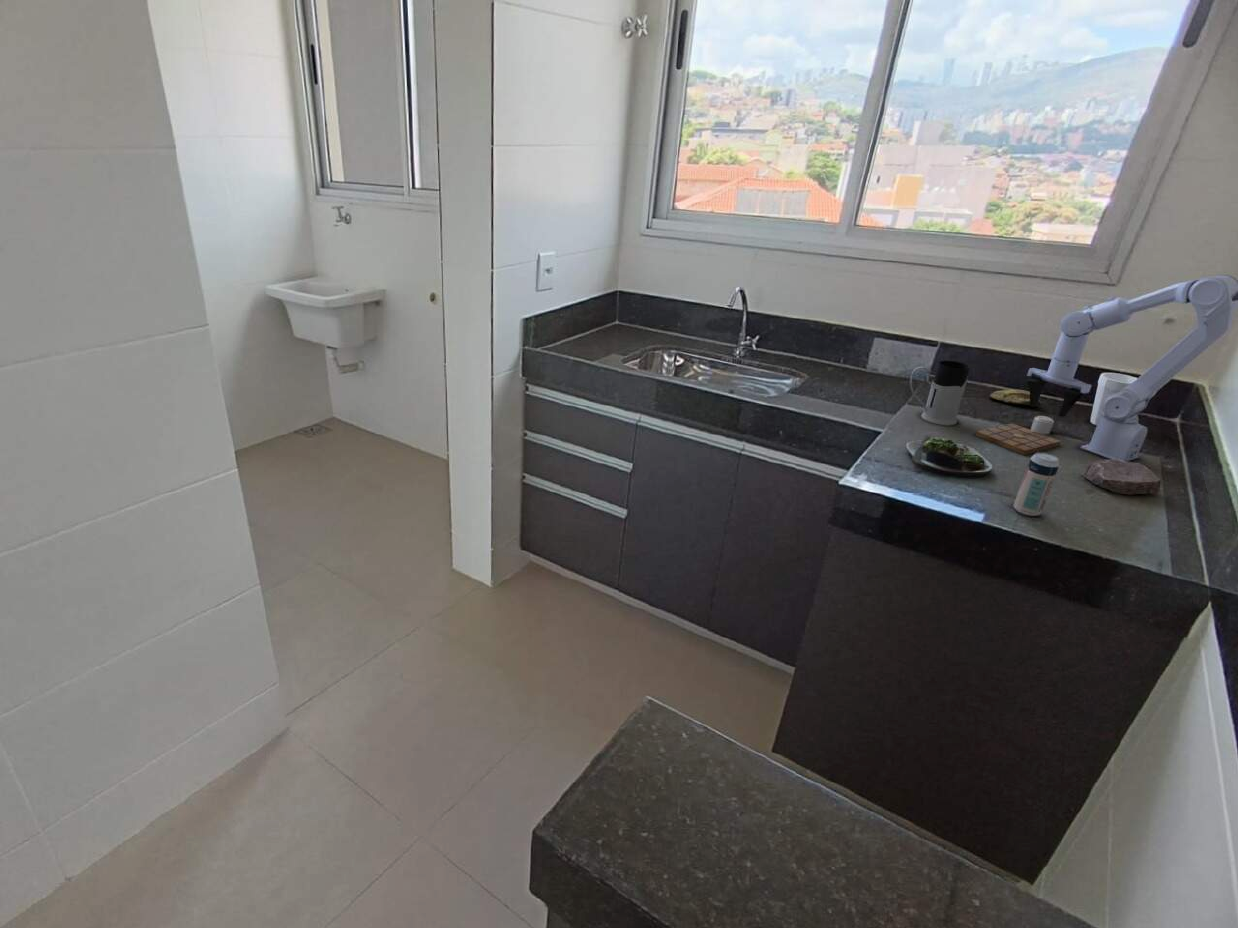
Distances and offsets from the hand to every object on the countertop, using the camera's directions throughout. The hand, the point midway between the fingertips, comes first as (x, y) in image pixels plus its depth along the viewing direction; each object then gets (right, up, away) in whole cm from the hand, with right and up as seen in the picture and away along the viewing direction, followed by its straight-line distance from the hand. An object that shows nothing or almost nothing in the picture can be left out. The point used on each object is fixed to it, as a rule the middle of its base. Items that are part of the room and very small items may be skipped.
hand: (1047, 410), depth 169 cm
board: (-10, -8, -4) cm, 14 cm away
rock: (+5, +4, +23) cm, 24 cm away
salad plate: (-36, -14, -19) cm, 43 cm away
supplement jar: (-29, -23, -38) cm, 54 cm away
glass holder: (-27, -2, +7) cm, 28 cm away
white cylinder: (0, -5, +2) cm, 6 cm away
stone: (-1, -19, -26) cm, 32 cm away
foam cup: (+22, -3, +10) cm, 24 cm away
